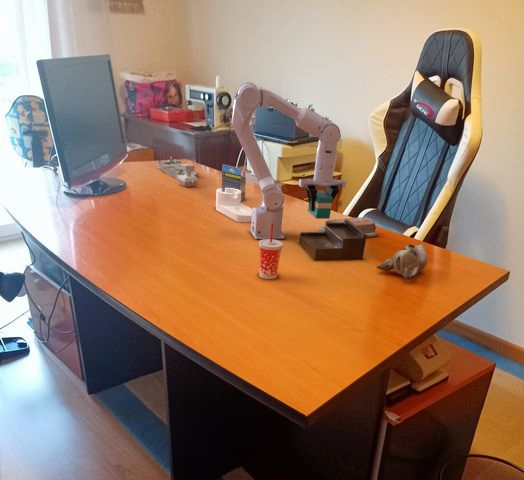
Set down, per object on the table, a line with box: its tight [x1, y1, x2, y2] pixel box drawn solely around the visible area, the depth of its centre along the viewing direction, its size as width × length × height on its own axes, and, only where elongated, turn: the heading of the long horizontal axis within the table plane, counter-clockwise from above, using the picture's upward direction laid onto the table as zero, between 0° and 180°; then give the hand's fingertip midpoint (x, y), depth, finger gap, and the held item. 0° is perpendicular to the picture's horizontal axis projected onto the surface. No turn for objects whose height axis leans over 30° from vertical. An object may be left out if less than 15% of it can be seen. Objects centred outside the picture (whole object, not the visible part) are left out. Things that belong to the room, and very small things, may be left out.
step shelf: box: [298, 218, 368, 261], centre depth 155 cm, size 15×15×8 cm
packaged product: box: [317, 216, 380, 238], centre depth 171 cm, size 18×5×10 cm
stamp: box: [176, 163, 200, 188], centre depth 210 cm, size 9×7×8 cm
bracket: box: [215, 187, 253, 223], centre depth 181 cm, size 20×9×7 cm, turn 33°
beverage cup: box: [258, 223, 284, 280], centre depth 133 cm, size 6×6×14 cm
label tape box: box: [221, 164, 247, 202], centre depth 197 cm, size 9×4×12 cm, turn 58°
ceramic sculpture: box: [376, 243, 429, 280], centre depth 143 cm, size 11×9×15 cm
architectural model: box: [156, 156, 199, 179], centre depth 229 cm, size 12×25×5 cm, turn 35°
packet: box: [307, 190, 333, 220], centre depth 161 cm, size 5×8×6 cm, turn 15°
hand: (318, 210), depth 162 cm, fingers closed on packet, 4 cm apart
